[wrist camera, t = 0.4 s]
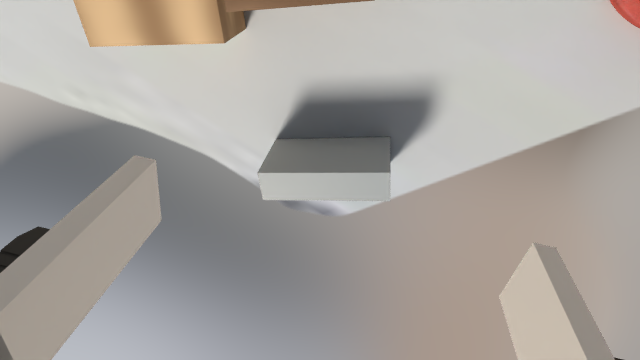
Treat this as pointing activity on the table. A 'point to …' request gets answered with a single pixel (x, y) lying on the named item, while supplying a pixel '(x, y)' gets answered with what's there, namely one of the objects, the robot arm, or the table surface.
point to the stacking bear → (628, 10)
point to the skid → (158, 22)
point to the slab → (276, 4)
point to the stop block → (327, 169)
